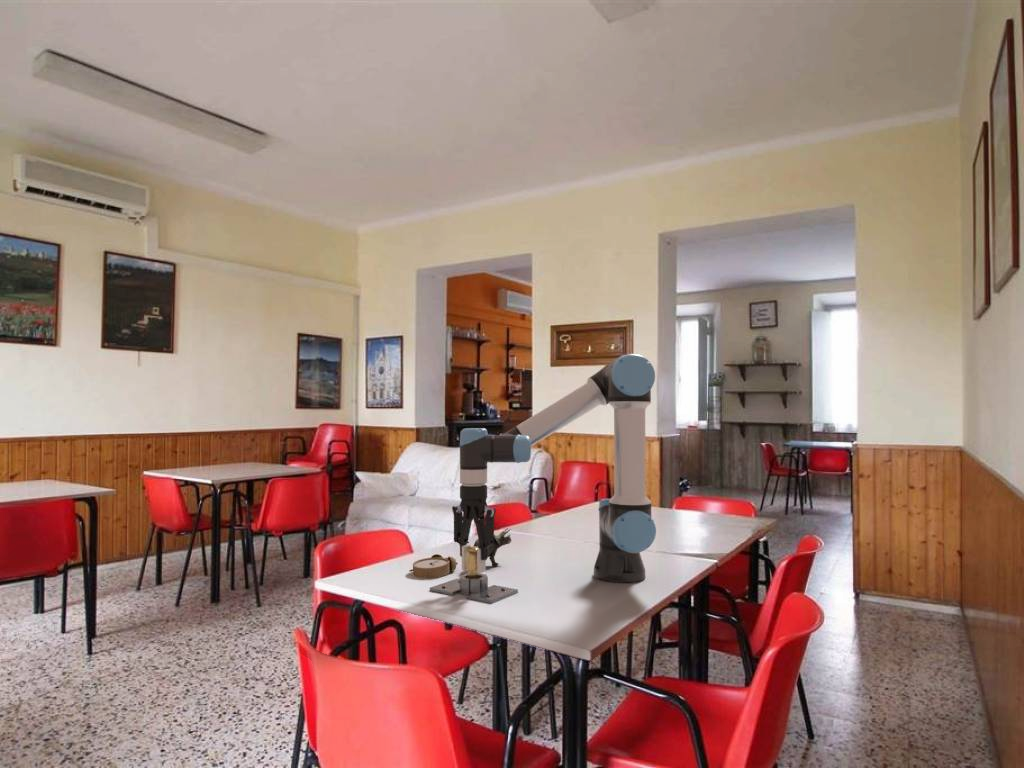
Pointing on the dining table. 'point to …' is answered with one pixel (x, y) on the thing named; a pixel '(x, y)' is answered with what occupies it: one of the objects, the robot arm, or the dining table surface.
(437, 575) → the alarm clock
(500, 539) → the dinosaur figurine
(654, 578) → the dining table surface
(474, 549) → the pin
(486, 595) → the grey plate with ring
